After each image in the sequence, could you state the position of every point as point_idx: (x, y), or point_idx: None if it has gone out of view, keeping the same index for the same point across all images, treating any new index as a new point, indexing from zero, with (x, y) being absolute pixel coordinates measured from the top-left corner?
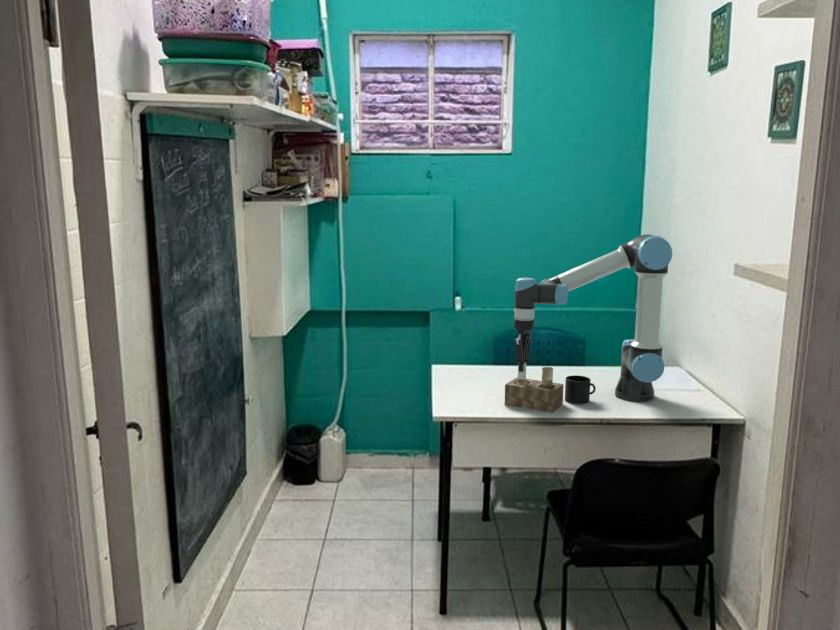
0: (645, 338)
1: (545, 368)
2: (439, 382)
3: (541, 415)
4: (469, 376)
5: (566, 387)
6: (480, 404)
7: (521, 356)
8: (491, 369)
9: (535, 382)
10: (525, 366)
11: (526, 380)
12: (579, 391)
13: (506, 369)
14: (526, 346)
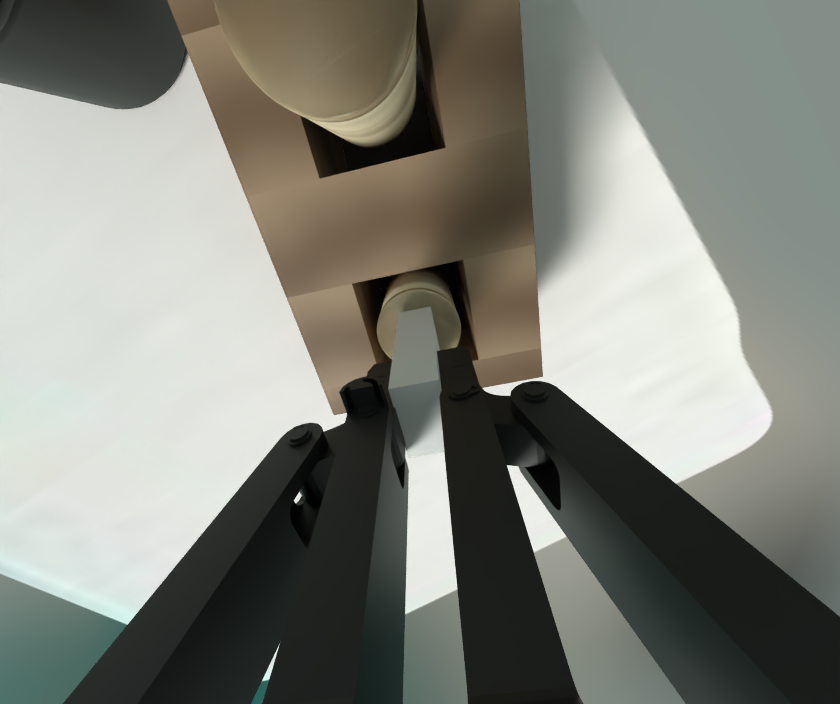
0: None
1: (371, 16)
2: (413, 609)
3: (573, 19)
4: None
5: (102, 27)
6: None
7: (631, 449)
8: (137, 596)
9: (340, 246)
10: (416, 363)
11: (409, 297)
12: None
13: (79, 571)
14: (362, 673)
